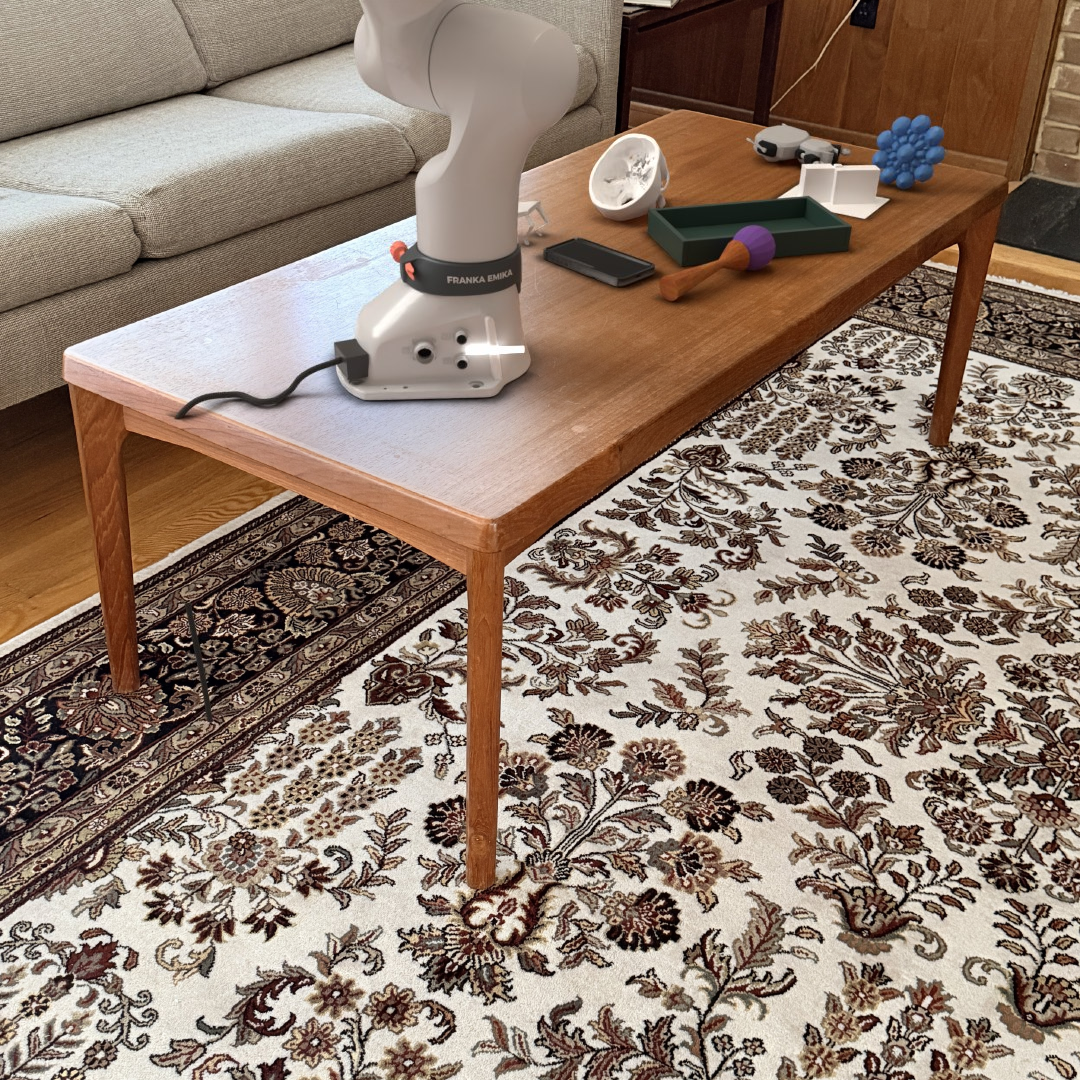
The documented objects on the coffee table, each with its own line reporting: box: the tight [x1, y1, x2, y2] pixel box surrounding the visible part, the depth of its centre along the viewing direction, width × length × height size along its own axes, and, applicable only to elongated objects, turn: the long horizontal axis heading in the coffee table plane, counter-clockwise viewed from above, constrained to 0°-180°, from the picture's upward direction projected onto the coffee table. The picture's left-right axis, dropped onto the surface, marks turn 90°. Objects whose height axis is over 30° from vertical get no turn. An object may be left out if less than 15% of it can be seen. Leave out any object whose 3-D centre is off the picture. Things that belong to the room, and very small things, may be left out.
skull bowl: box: [588, 133, 671, 222], centre depth 186 cm, size 10×14×12 cm
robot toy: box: [745, 123, 851, 166], centre depth 208 cm, size 12×4×15 cm
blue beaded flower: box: [871, 114, 947, 190], centre depth 196 cm, size 12×7×12 cm, turn 54°
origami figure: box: [518, 200, 551, 246], centre depth 174 cm, size 12×8×5 cm
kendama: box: [658, 225, 776, 302], centre depth 163 cm, size 6×6×20 cm
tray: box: [646, 196, 853, 267], centre depth 176 cm, size 26×14×4 cm, turn 106°
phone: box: [542, 237, 656, 288], centre depth 168 cm, size 8×1×15 cm
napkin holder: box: [778, 163, 891, 220], centre depth 192 cm, size 15×11×6 cm
